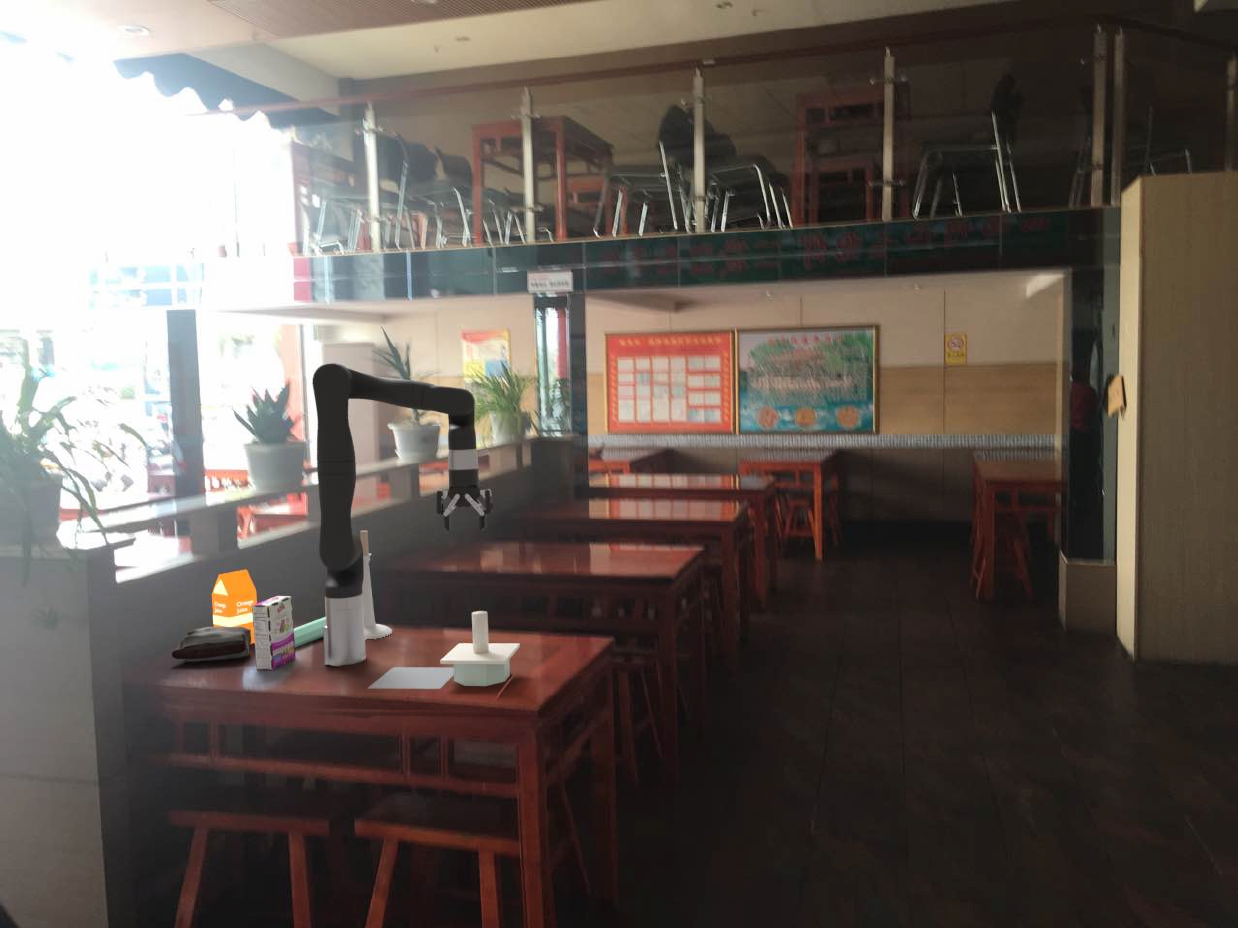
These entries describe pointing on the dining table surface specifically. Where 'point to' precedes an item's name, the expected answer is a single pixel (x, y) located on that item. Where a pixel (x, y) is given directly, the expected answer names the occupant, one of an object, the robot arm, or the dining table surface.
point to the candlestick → (370, 598)
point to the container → (309, 632)
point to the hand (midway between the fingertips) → (465, 530)
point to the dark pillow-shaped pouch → (214, 644)
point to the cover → (480, 646)
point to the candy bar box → (273, 632)
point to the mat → (414, 678)
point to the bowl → (481, 674)
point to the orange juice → (234, 601)
